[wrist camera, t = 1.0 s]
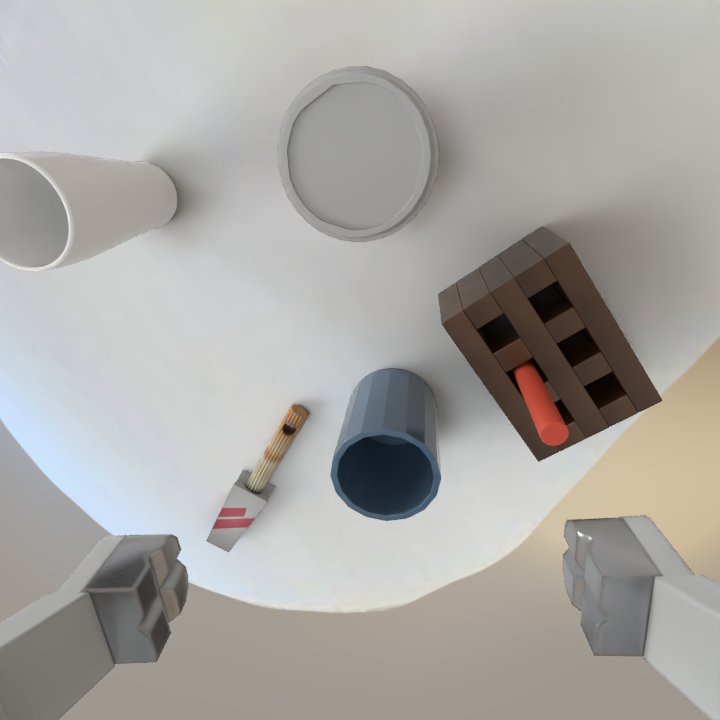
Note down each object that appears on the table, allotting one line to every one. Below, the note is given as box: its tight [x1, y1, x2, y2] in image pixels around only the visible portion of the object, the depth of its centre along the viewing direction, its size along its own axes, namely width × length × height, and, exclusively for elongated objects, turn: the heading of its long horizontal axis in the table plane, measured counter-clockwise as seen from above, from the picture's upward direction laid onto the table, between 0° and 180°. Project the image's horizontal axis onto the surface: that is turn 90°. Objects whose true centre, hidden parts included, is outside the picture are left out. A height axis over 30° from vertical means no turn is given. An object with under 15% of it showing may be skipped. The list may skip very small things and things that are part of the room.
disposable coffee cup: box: [278, 66, 439, 242], centre depth 33 cm, size 10×10×12 cm
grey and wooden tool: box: [206, 405, 308, 552], centre depth 51 cm, size 4×3×20 cm
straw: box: [512, 359, 569, 446], centre depth 36 cm, size 2×2×16 cm
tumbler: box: [331, 369, 441, 521], centre depth 42 cm, size 8×8×11 cm
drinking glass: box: [0, 151, 178, 272], centre depth 35 cm, size 7×7×15 cm
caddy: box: [438, 227, 662, 461], centre depth 39 cm, size 10×14×8 cm
